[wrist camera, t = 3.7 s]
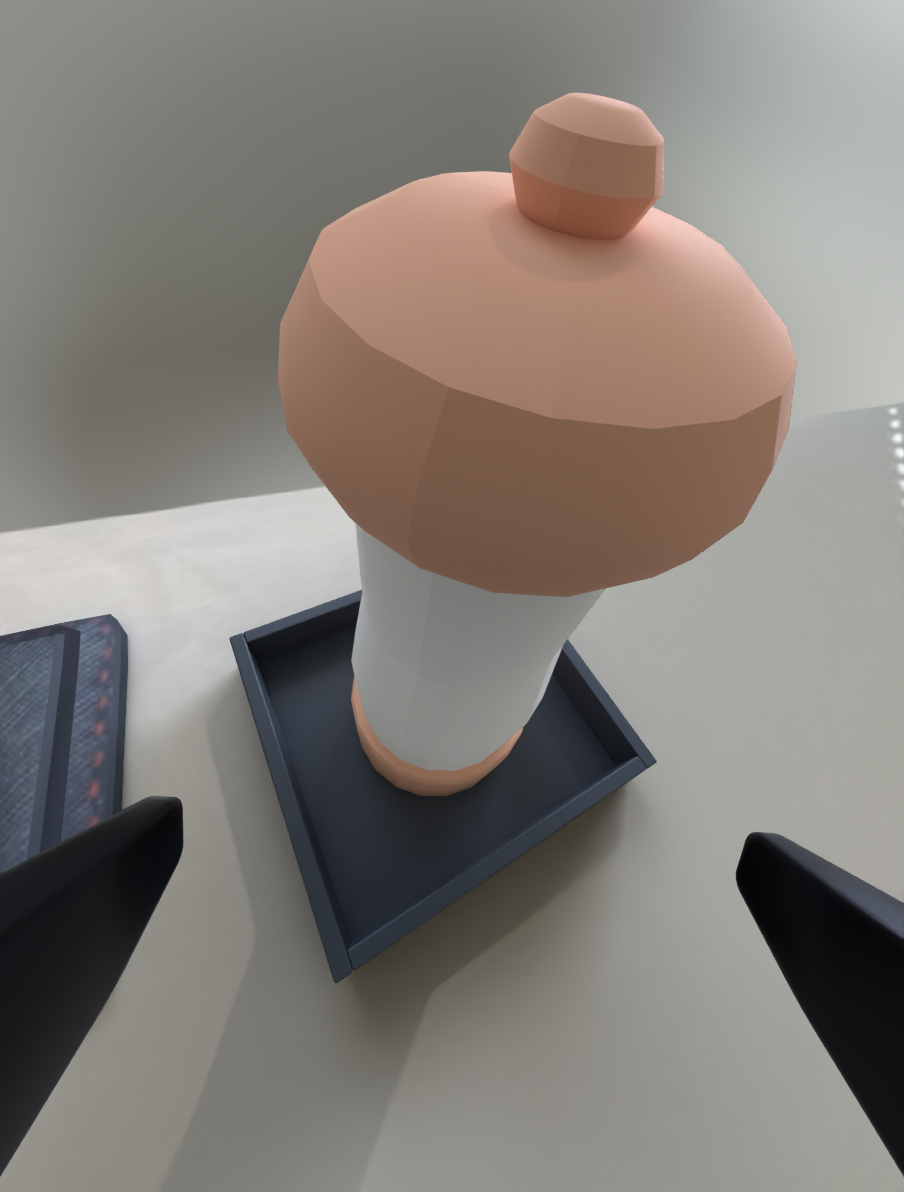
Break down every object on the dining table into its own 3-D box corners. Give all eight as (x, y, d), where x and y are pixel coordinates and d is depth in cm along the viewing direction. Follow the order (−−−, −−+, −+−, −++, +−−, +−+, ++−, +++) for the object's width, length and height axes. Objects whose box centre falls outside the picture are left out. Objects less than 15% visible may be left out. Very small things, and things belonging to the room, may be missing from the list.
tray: (342, 967, 15) (334, 985, 13) (245, 661, 21) (228, 637, 18) (628, 772, 20) (657, 761, 18) (487, 568, 26) (496, 540, 23)
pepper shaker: (353, 651, 21) (234, -9, 5) (492, 638, 23) (736, 84, 7) (360, 810, 17) (-11, 187, 1) (525, 783, 19) (1304, 311, 3)
